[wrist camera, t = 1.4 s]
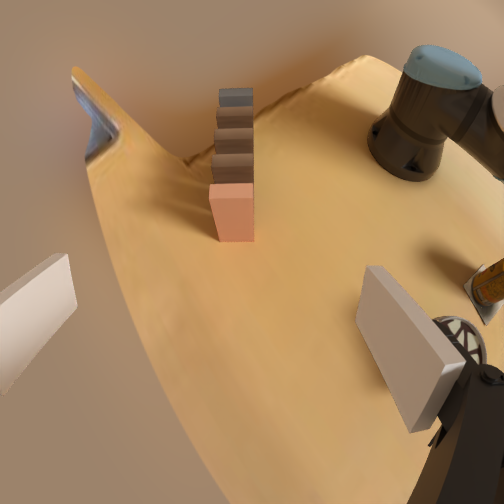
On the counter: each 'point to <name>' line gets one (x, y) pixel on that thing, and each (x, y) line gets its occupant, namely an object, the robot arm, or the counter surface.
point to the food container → (466, 336)
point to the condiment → (487, 290)
